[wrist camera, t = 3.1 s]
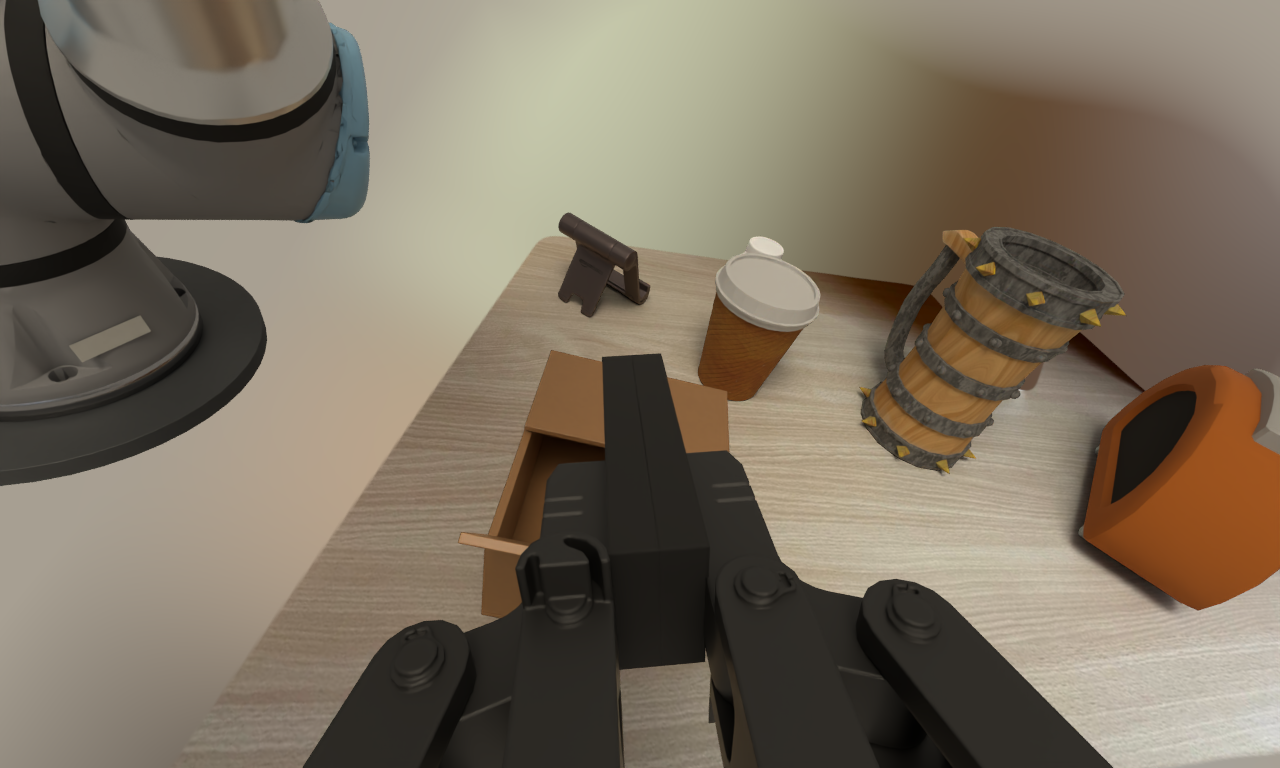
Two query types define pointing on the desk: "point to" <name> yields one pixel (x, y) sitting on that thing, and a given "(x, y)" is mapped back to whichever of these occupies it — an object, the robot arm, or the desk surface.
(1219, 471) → the alarm clock
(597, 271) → the tablet stand
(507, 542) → the flap
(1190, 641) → the desk surface
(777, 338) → the disposable coffee cup
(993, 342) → the mug
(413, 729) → the robot arm
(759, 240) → the pill bottle
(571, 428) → the carton
